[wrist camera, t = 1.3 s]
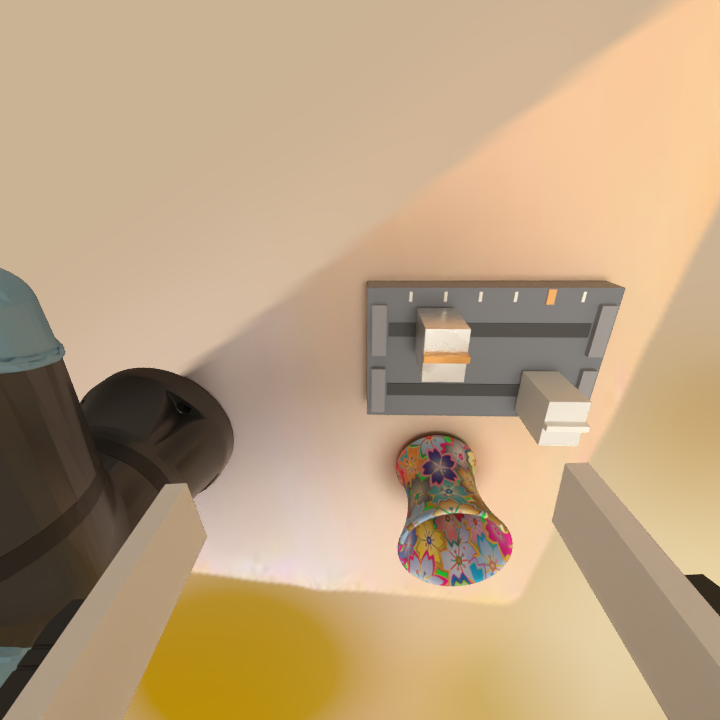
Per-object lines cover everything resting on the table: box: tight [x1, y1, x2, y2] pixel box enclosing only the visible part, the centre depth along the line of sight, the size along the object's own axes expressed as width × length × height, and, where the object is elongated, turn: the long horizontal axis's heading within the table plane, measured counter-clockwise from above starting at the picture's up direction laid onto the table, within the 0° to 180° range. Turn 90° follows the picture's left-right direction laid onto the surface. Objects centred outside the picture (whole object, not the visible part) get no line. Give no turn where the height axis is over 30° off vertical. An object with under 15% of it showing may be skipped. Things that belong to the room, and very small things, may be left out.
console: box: [367, 281, 625, 446], centre depth 28 cm, size 20×12×8 cm, turn 91°
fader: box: [414, 308, 471, 382], centre depth 26 cm, size 3×4×6 cm
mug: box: [396, 435, 513, 586], centre depth 33 cm, size 12×9×11 cm
